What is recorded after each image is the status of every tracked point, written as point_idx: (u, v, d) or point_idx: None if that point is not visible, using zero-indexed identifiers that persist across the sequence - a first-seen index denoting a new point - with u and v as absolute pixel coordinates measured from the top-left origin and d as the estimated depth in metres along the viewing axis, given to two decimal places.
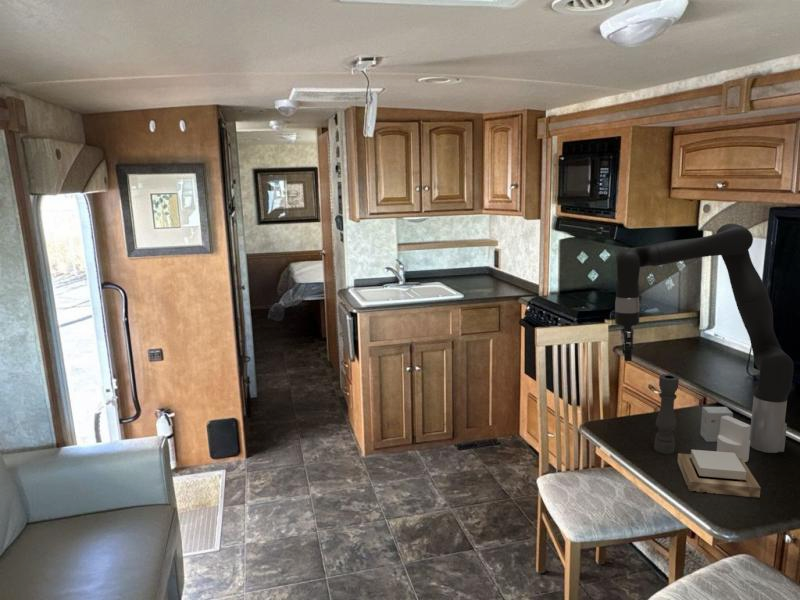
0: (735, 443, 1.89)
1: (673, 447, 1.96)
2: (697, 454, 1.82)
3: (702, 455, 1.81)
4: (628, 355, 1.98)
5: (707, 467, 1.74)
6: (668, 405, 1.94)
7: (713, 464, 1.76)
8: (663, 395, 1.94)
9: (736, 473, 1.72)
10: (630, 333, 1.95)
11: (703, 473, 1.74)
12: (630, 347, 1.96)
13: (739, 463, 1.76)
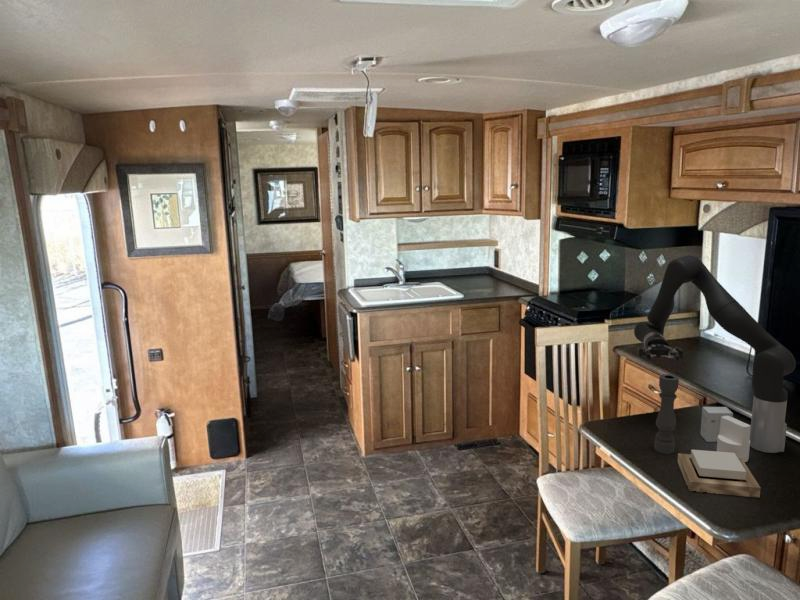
0: (735, 443, 1.89)
1: (673, 447, 1.96)
2: (697, 454, 1.82)
3: (702, 455, 1.81)
4: (645, 355, 2.08)
5: (707, 467, 1.74)
6: (668, 405, 1.94)
7: (713, 464, 1.76)
8: (663, 395, 1.94)
9: (736, 473, 1.72)
10: None
11: (703, 473, 1.74)
12: (639, 350, 2.11)
13: (739, 463, 1.76)
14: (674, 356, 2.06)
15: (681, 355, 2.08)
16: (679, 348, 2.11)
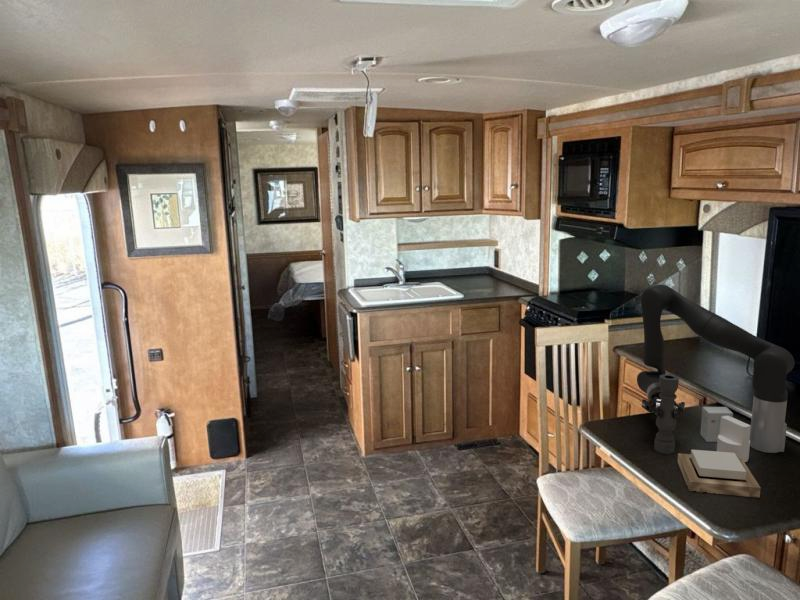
0: (735, 443, 1.89)
1: (673, 447, 1.96)
2: (697, 454, 1.82)
3: (702, 455, 1.81)
4: (656, 412, 1.97)
5: (707, 467, 1.74)
6: (668, 405, 1.94)
7: (713, 464, 1.76)
8: (663, 395, 1.94)
9: (736, 473, 1.72)
10: (642, 402, 2.04)
11: (703, 473, 1.74)
12: (649, 406, 2.00)
13: (739, 463, 1.76)
14: None
15: (680, 412, 1.97)
16: (682, 404, 2.00)
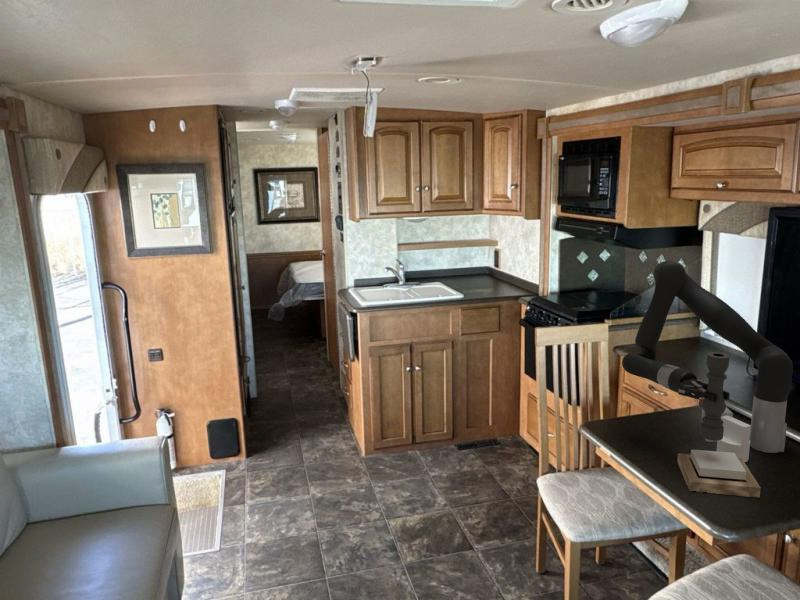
0: (735, 443, 1.89)
1: None
2: (697, 454, 1.82)
3: (702, 455, 1.81)
4: (708, 396, 1.75)
5: (707, 467, 1.74)
6: (721, 386, 1.74)
7: (713, 464, 1.76)
8: (716, 376, 1.73)
9: (736, 473, 1.72)
10: (680, 389, 1.80)
11: (703, 473, 1.74)
12: (695, 392, 1.77)
13: (739, 463, 1.76)
14: None
15: None
16: None
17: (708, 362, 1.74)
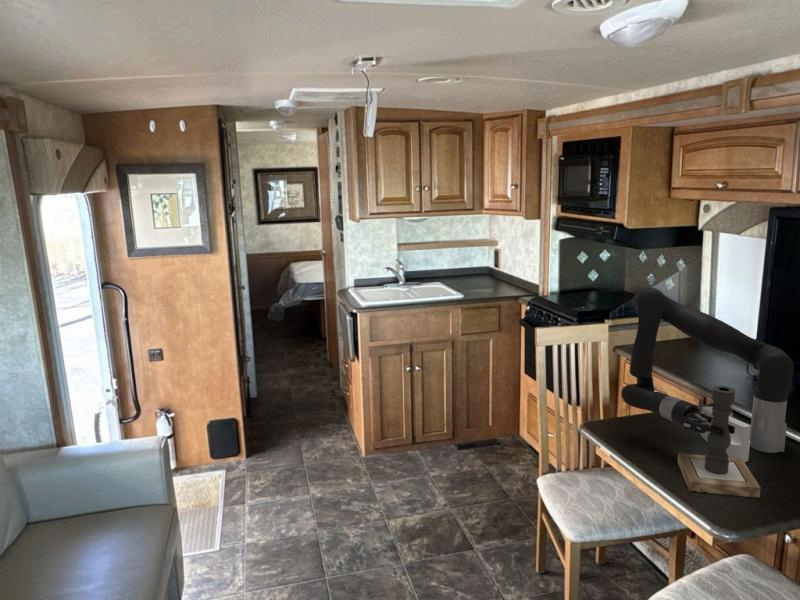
0: (735, 443, 1.89)
1: None
2: (696, 463, 1.83)
3: (701, 465, 1.82)
4: (715, 431, 1.74)
5: (706, 477, 1.75)
6: (727, 420, 1.74)
7: (713, 474, 1.77)
8: (722, 410, 1.73)
9: None
10: (685, 423, 1.79)
11: None
12: (701, 426, 1.76)
13: (738, 473, 1.77)
14: None
15: None
16: None
17: (714, 396, 1.74)
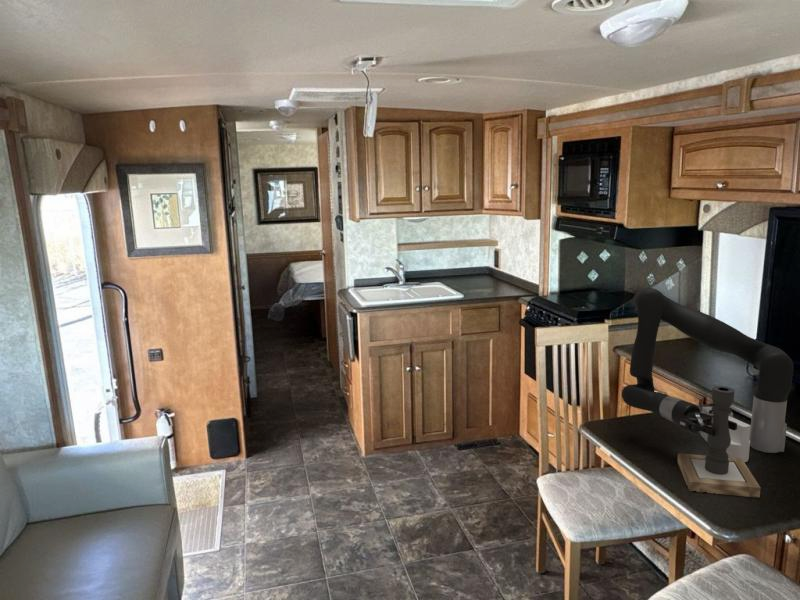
0: (735, 443, 1.89)
1: None
2: (696, 463, 1.83)
3: (701, 465, 1.82)
4: (707, 431, 1.74)
5: (706, 477, 1.75)
6: (726, 420, 1.74)
7: (713, 474, 1.77)
8: (722, 410, 1.74)
9: None
10: (681, 421, 1.80)
11: None
12: (693, 426, 1.76)
13: (738, 473, 1.77)
14: (728, 424, 1.78)
15: None
16: None
17: (713, 396, 1.74)
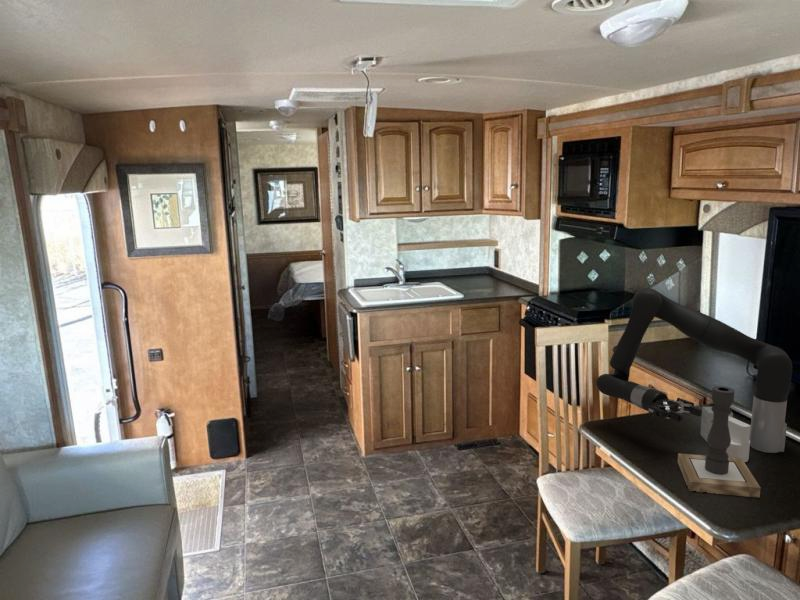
0: (735, 443, 1.89)
1: None
2: (696, 463, 1.83)
3: (701, 465, 1.82)
4: (673, 417, 1.85)
5: (706, 477, 1.75)
6: (726, 420, 1.74)
7: (713, 474, 1.77)
8: (722, 410, 1.73)
9: None
10: (649, 408, 1.91)
11: None
12: (660, 413, 1.87)
13: (738, 473, 1.77)
14: (693, 411, 1.89)
15: None
16: (683, 400, 1.95)
17: (713, 396, 1.74)
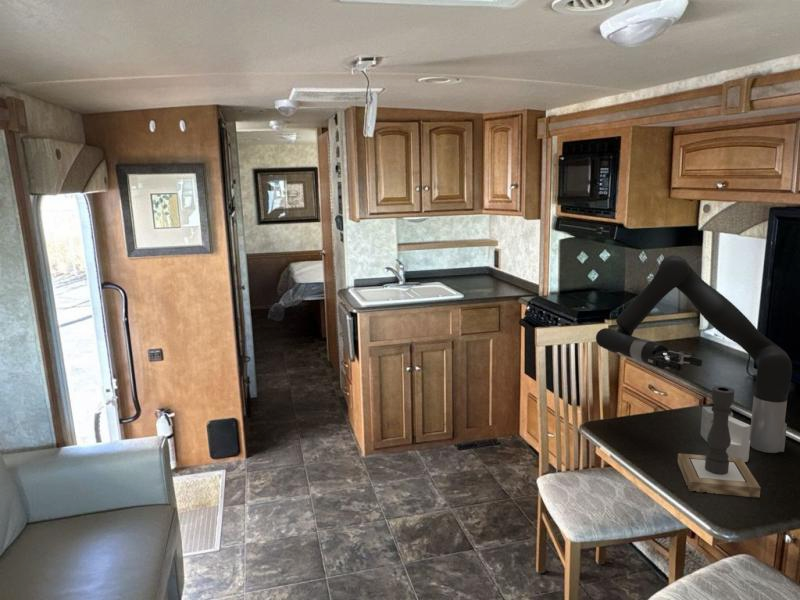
0: (735, 443, 1.89)
1: None
2: (696, 463, 1.83)
3: (701, 465, 1.82)
4: (673, 366, 1.83)
5: (706, 477, 1.75)
6: (726, 420, 1.74)
7: (713, 474, 1.77)
8: (721, 410, 1.73)
9: None
10: (648, 358, 1.89)
11: None
12: (660, 362, 1.85)
13: (738, 473, 1.77)
14: (693, 361, 1.87)
15: None
16: (683, 351, 1.93)
17: (713, 397, 1.74)
